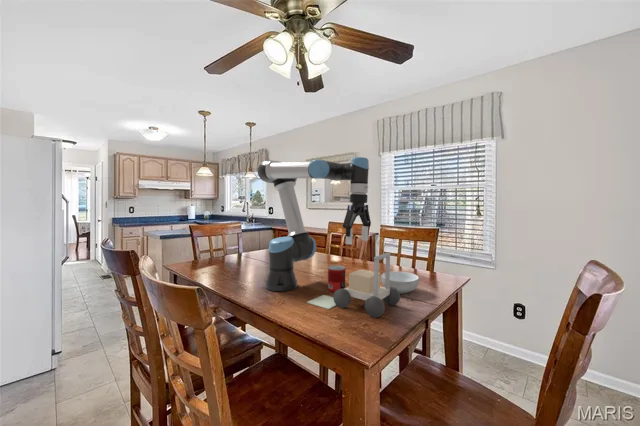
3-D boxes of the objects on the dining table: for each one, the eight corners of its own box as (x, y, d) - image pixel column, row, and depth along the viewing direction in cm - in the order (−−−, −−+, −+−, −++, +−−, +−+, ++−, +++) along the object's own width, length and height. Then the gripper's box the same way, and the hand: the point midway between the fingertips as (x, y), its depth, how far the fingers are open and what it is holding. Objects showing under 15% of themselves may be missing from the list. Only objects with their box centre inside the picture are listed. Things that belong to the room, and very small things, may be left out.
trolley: (333, 305, 110) (333, 252, 109) (354, 294, 123) (355, 246, 122) (382, 319, 97) (383, 259, 96) (400, 305, 110) (401, 252, 109)
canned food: (344, 293, 124) (344, 269, 123) (326, 292, 126) (326, 268, 125) (346, 288, 131) (346, 265, 131) (329, 287, 133) (329, 264, 133)
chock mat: (306, 302, 113) (306, 301, 113) (323, 295, 121) (323, 294, 121) (328, 309, 106) (328, 308, 106) (344, 301, 115) (344, 300, 115)
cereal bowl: (380, 284, 139) (381, 270, 138) (415, 286, 135) (416, 272, 135) (381, 295, 122) (381, 279, 122) (421, 298, 119) (421, 282, 118)
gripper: (351, 193, 108) (349, 247, 109) (379, 194, 128) (377, 240, 129) (335, 193, 113) (333, 244, 114) (365, 194, 132) (363, 238, 134)
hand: (357, 242), depth 122 cm, fingers open, 13 cm apart
